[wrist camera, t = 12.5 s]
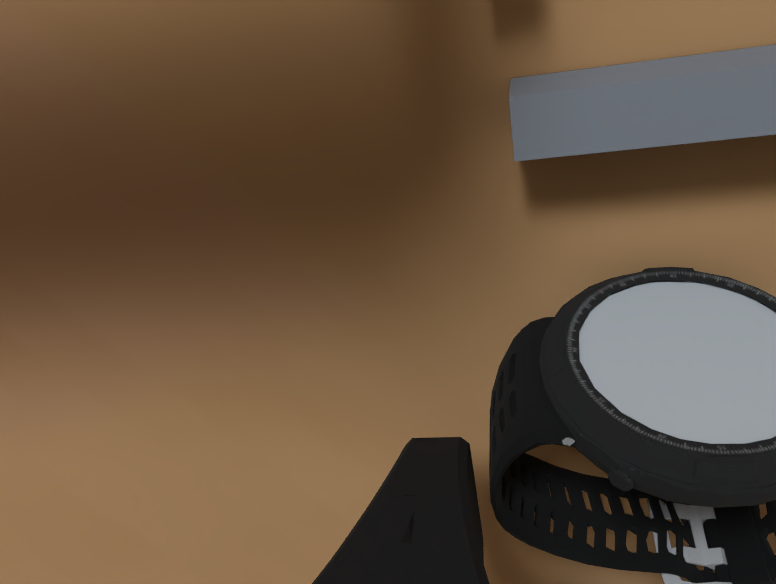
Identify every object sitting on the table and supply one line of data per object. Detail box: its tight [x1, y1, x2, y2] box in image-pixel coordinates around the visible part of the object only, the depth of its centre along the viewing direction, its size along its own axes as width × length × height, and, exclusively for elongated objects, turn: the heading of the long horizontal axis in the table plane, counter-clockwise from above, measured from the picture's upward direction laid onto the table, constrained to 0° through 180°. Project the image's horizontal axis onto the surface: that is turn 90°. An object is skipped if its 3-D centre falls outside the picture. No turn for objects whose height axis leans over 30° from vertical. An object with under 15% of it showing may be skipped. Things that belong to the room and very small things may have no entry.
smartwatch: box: [489, 267, 776, 584], centre depth 10 cm, size 4×5×5 cm
